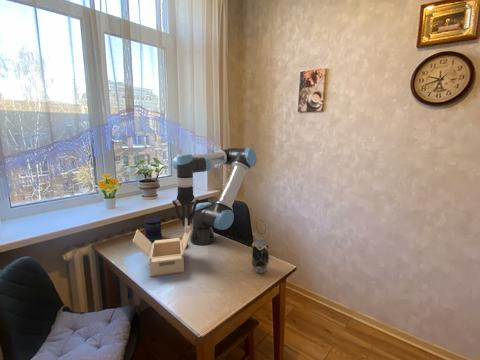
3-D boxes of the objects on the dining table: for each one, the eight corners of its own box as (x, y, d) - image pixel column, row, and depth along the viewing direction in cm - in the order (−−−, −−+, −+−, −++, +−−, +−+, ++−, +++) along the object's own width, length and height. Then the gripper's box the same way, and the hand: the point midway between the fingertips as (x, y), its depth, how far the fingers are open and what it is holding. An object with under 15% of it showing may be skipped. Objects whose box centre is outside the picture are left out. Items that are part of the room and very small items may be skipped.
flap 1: (137, 229, 125) (136, 230, 125) (133, 241, 111) (132, 241, 111) (151, 242, 128) (150, 243, 128) (149, 255, 113) (148, 256, 113)
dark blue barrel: (165, 242, 153) (164, 218, 151) (152, 247, 145) (151, 223, 142) (155, 238, 158) (153, 216, 156) (141, 244, 150) (140, 220, 148)
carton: (181, 252, 138) (181, 237, 137) (184, 276, 115) (183, 257, 113) (153, 256, 134) (152, 240, 133) (150, 280, 111) (148, 262, 109)
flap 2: (190, 232, 117) (191, 232, 117) (188, 222, 132) (189, 222, 132) (183, 251, 118) (184, 252, 118) (181, 239, 132) (182, 239, 132)
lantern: (248, 268, 122) (248, 219, 118) (260, 263, 126) (261, 215, 123) (260, 275, 115) (260, 223, 111) (272, 270, 120) (273, 220, 116)
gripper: (197, 184, 126) (198, 228, 130) (171, 184, 123) (172, 230, 126) (199, 186, 119) (199, 233, 122) (171, 187, 115) (172, 235, 119)
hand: (186, 232), depth 124 cm, fingers closed
